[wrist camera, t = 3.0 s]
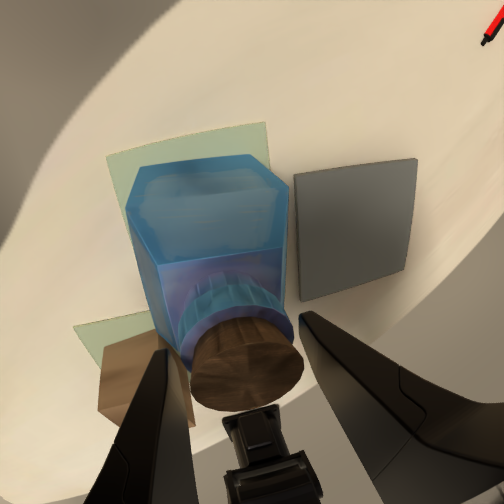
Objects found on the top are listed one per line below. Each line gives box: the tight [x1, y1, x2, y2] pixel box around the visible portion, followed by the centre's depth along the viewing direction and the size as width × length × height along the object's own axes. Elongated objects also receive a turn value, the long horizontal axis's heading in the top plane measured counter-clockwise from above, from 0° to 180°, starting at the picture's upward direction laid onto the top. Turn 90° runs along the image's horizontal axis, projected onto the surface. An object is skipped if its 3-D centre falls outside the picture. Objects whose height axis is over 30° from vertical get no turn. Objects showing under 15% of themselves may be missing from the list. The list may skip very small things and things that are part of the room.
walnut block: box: [98, 329, 196, 428], centre depth 20 cm, size 5×5×6 cm
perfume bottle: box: [125, 154, 304, 412], centre depth 13 cm, size 6×6×12 cm
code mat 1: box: [106, 122, 270, 249], centre depth 18 cm, size 9×9×1 cm
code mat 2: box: [73, 310, 191, 382], centre depth 23 cm, size 9×9×1 cm
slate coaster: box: [294, 158, 418, 302], centre depth 21 cm, size 10×10×1 cm
